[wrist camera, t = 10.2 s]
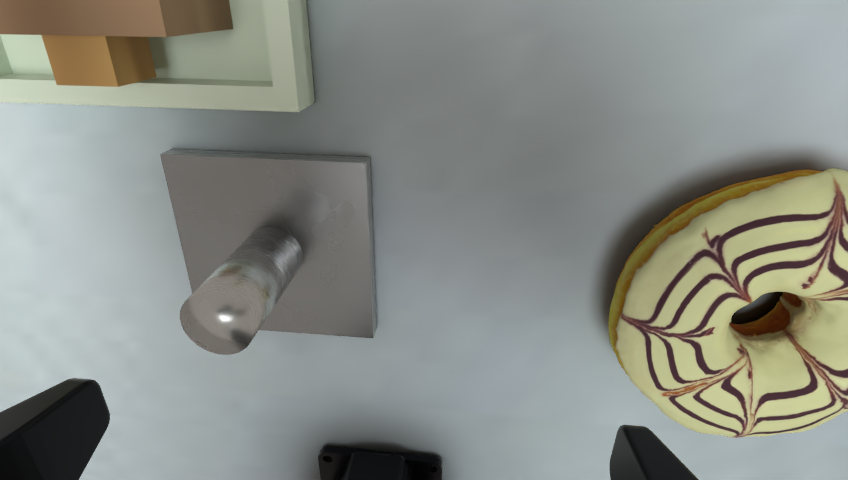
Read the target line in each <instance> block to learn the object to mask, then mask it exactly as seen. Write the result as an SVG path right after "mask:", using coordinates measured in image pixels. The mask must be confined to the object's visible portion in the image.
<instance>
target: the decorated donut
mask: <svg viewBox="0 0 848 480" xmlns="http://www.w3.org/2000/svg"><path fill="white" fill-rule="evenodd" d="M770 292H783V294H782V295H781V297H780V301H779V302H777V305H776V306H775V308H774V309H772V310H771V311H770V312H769V313H768V314H766V315H765V316H763V317H762V318H760V319H758V320H756V321H753V322H749V323H745V324H732V323H731V321H732V320H731V318H732V315H733V314H734V313H735V312H736V311H737V310H739V309H740V308H742V307H744V306H746V305H748V304H750V303H752V302H753V301H755V300H756V299H757V298H759V297H760V296H761V295H763V294H766V293H770ZM608 322H609V323H608V327H609V338H610V343H611V346H612V347H613V350H614V352H615V353H616V355H617V358H618V361H619V363H620V365H621V366H622V368H623V369H624V370H625V372H626V374H627V375H628V376H629V378H630V380H631V381H632V382H633V383H634V384H635V385H636V387H637V388H639V389H640V391H641V392H642V393H643V394H644V395H645V396H646V397H647V398H649V399H650V400H651V401H652V402H653V403H655V404H656V405H657V406H658V408H659V409H660V410H661V411H662V412H663V413H664V414H665V415H667V416H668V417H669V418H671V419H672V420H674V421H676V422H678V423H680V424H681V425H683V426H685V427H687V428H689V429H691V430H693V431H696V432H699V433H706V434H717V435H725V436H728V437H736V438H737V437H749V436H770V435H775V434H780V433H796V432H803V431H806V430H810V429H812V428H815V427H817V426H819V425H821V424H823V423H825V422H827V421H829V420H831V419H833V418H834V417H836V416H838V415H839V414H841V413H843V412H846V411H848V171H845V170H841V169H835V168H830V169H827V170H825V171H816V170H809V169H804V170H794V171H790V172H785V173H782V174H776V175H772V176H767V177H762V178H757V179H753V180H749V181H745V182H739V183H735V184H732V185H729V186H726V187H724V188H721V189H719V190H716V191H713V192H712V193H709V194H707V195H704V196H701V197H698V198H696V199H695V200H693V201H691V202H689V203H687V204H684V205H682V206H681V207H679V208H677V209H675V210H674V211H673V212H671V213H670V214H669V215H668V217H666V218H664V219H663V220H662V221H661V222H660V223H658V224H657V225H654V228H653V229H651V231H650V232H649V233H648V234H647V235H646V236H644V239H643V240H642V241H641V242H639V243H638V246H637V247H636V248H635V250H634V251H633V252H632V253H631V254H630V256H629V257H628V259H627V260H626V263H625V265H624V267H623V270H622V272H621V273H620V276H619V278H618V281H617V283H616V287H615V292H614V296H613V300H612V302H611V307H610V312H609V320H608Z"/></svg>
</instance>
